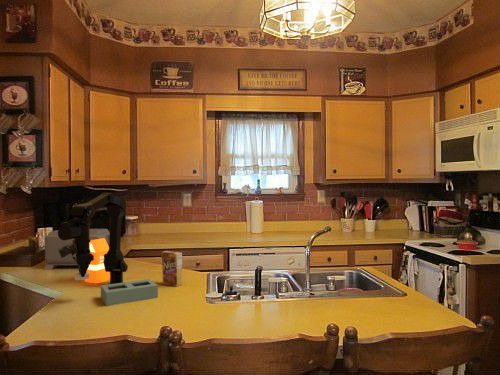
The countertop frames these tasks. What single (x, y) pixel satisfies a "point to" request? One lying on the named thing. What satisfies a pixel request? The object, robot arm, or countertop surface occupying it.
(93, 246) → the orange juice
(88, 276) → the steel tile
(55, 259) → the toaster
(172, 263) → the candy box
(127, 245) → the countertop surface
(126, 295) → the grey holed block
